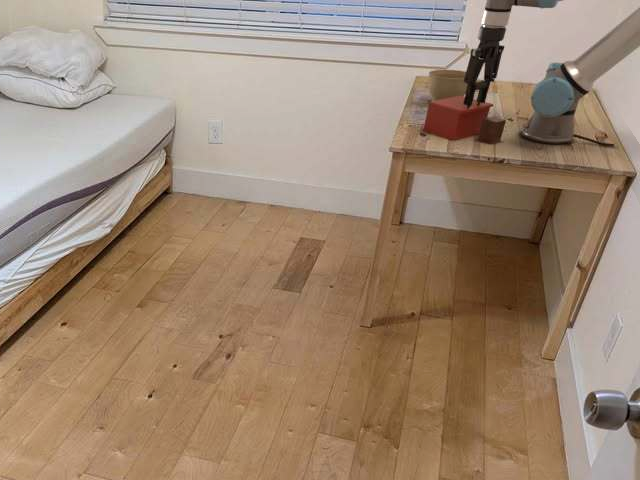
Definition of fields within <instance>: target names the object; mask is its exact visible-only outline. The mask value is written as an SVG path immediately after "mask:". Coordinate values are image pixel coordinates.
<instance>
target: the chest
mask: <svg viewBox="0 0 640 480" xmlns="http://www.w3.org/2000/svg"><path fill="white" fill-rule="evenodd" d="M490 109H491V107H489V108H484V109H480V110H475V111H471V112H466V113H459V112H455V111H452V110H448V109H444V108H441V107H437V106H433V105H430V104H429V103H428V106H427V111H426V115H425V120H424V125H423V129H422V131H423V132H425V133H429V134H432V135H434V136H435V135H436V136H437V137H442V138H445V139H447V140H452V141H456V140H460V139H464V138H468V137H472V136H476V135H479V132H480V129H481V125H482V121H483V119H484V118H488V117H489V114H490Z"/></svg>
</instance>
